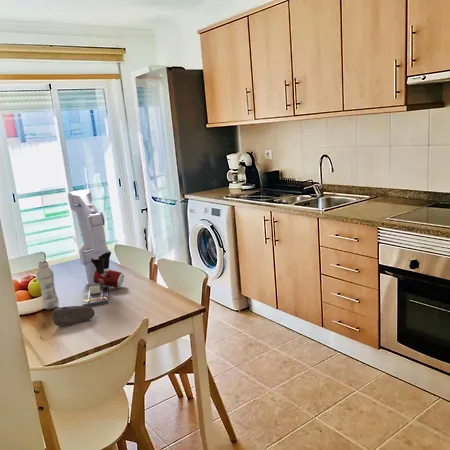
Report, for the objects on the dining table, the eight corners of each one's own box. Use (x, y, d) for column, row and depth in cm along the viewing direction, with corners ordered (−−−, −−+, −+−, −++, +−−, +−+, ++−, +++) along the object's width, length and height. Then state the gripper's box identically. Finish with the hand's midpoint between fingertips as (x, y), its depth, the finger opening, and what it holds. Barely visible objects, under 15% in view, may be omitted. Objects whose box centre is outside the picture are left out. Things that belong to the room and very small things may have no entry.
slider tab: (91, 291, 193) (89, 284, 192) (100, 290, 194) (99, 282, 193) (90, 294, 190) (89, 286, 189) (100, 292, 191) (99, 284, 190)
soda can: (125, 272, 202) (100, 266, 203) (120, 274, 195) (94, 267, 196) (122, 287, 203) (97, 281, 204) (117, 289, 195) (91, 283, 196)
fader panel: (85, 289, 202) (85, 284, 202) (108, 285, 204) (107, 280, 204) (82, 308, 180) (82, 302, 180) (108, 303, 183) (107, 298, 182)
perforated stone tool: (95, 316, 171) (93, 300, 169) (95, 322, 166) (93, 305, 164) (55, 324, 167) (52, 307, 166) (53, 329, 162) (50, 312, 161)
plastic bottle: (54, 311, 179) (45, 264, 175) (39, 311, 181) (30, 264, 176) (62, 304, 186) (54, 259, 181) (48, 304, 187) (40, 259, 182)
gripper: (102, 243, 183) (108, 275, 185) (112, 236, 197) (117, 265, 199) (86, 245, 183) (91, 276, 185) (97, 238, 197) (101, 267, 200)
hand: (103, 271), depth 192 cm, fingers open, 7 cm apart
